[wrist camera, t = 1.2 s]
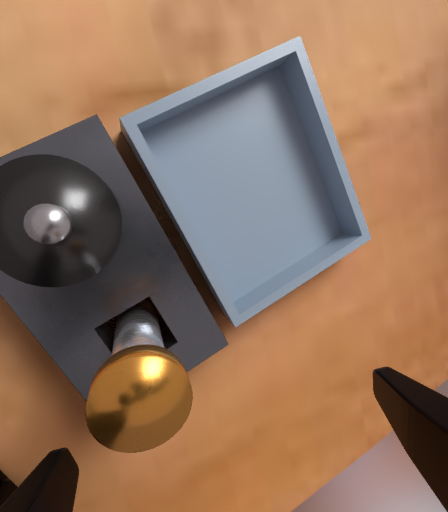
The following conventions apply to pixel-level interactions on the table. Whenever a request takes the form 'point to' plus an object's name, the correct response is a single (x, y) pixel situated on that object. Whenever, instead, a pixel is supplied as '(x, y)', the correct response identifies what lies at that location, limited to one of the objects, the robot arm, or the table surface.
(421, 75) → the table surface
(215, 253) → the tray
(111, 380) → the lock pin
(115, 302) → the grey holder base
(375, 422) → the table surface
